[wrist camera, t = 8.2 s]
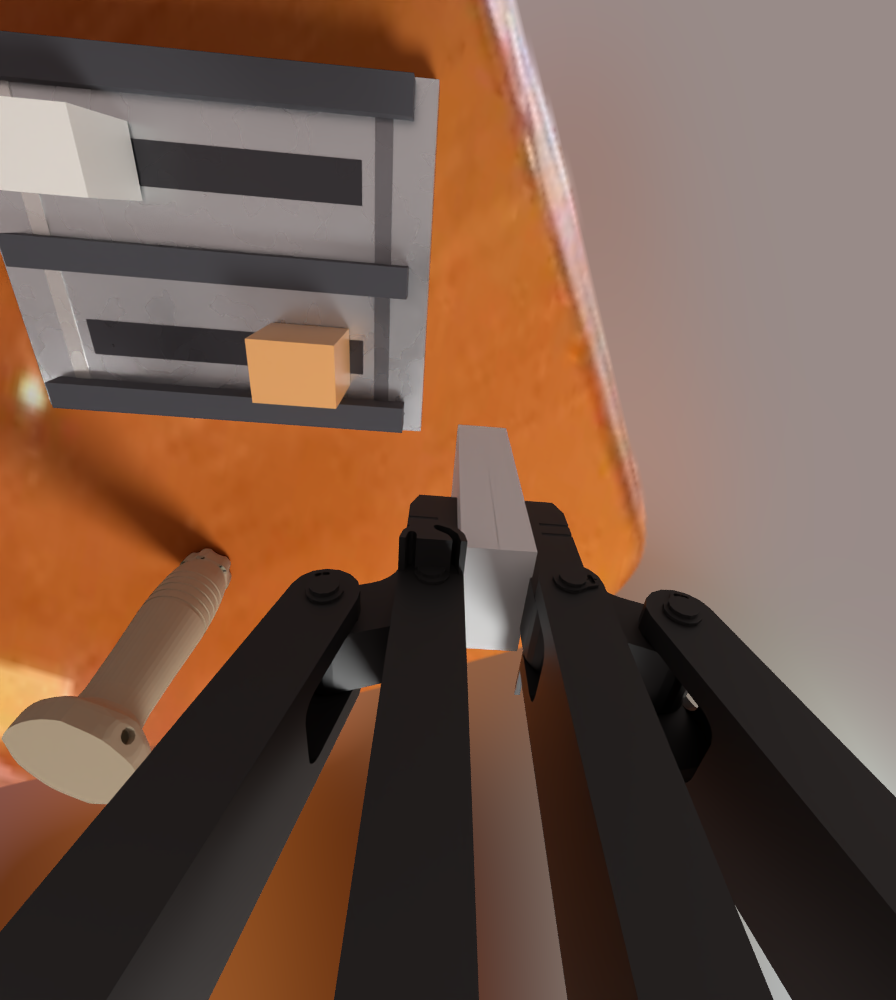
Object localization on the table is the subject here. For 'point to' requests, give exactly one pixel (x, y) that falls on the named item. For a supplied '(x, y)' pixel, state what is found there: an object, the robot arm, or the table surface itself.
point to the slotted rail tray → (218, 83)
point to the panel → (238, 240)
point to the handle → (121, 690)
